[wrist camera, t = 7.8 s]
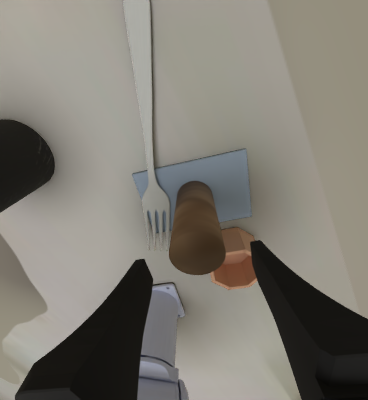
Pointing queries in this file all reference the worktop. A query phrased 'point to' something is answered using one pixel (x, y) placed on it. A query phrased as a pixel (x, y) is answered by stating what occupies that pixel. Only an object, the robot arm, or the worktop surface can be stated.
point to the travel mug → (22, 162)
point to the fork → (146, 109)
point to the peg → (196, 231)
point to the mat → (210, 175)
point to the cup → (235, 261)
